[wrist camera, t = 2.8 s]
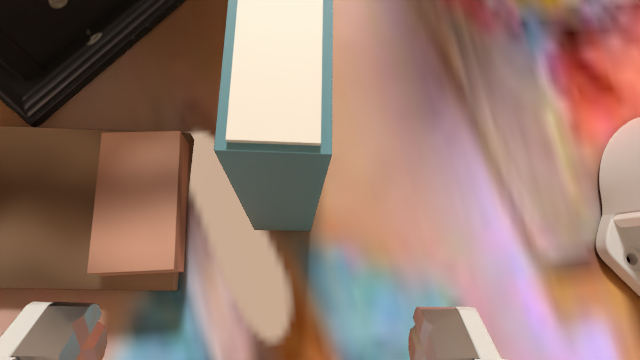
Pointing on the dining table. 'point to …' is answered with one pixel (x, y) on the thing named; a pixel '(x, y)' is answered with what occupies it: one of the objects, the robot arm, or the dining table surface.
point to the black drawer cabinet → (65, 47)
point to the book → (276, 108)
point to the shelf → (93, 208)
